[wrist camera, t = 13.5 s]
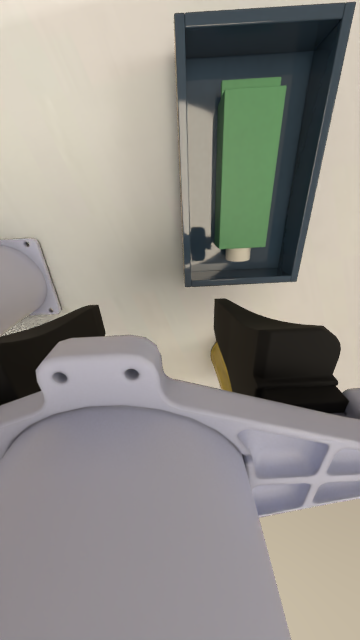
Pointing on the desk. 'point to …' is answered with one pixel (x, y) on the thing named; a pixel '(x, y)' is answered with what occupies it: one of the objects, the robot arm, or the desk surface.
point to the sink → (295, 137)
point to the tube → (246, 162)
